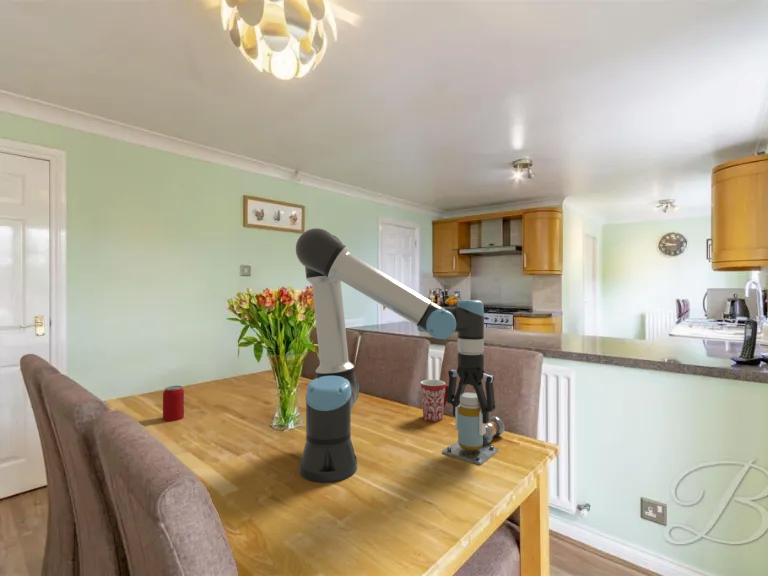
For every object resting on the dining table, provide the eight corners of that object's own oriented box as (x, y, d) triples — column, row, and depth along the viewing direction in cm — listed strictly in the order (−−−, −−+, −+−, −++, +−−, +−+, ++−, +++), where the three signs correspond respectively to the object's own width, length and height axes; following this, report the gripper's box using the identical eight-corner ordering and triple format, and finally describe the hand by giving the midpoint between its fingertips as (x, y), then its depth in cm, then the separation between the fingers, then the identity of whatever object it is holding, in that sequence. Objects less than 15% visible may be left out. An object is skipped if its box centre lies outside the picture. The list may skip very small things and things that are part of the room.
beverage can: (187, 417, 146) (187, 385, 146) (176, 424, 140) (176, 390, 140) (170, 417, 147) (170, 385, 147) (158, 423, 140) (158, 389, 140)
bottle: (485, 451, 112) (485, 398, 112) (460, 451, 113) (460, 398, 113) (479, 441, 119) (479, 392, 119) (456, 441, 120) (456, 391, 120)
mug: (432, 424, 139) (432, 386, 139) (415, 417, 147) (415, 381, 147) (457, 418, 147) (457, 381, 147) (440, 411, 154) (440, 377, 154)
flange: (480, 465, 108) (480, 443, 108) (442, 453, 115) (442, 432, 115) (513, 439, 126) (513, 420, 126) (478, 430, 134) (478, 412, 134)
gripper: (508, 354, 113) (508, 435, 113) (447, 347, 125) (447, 420, 125) (497, 358, 107) (497, 443, 107) (434, 350, 119) (434, 426, 119)
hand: (470, 430), depth 116 cm, fingers closed on bottle, 7 cm apart
